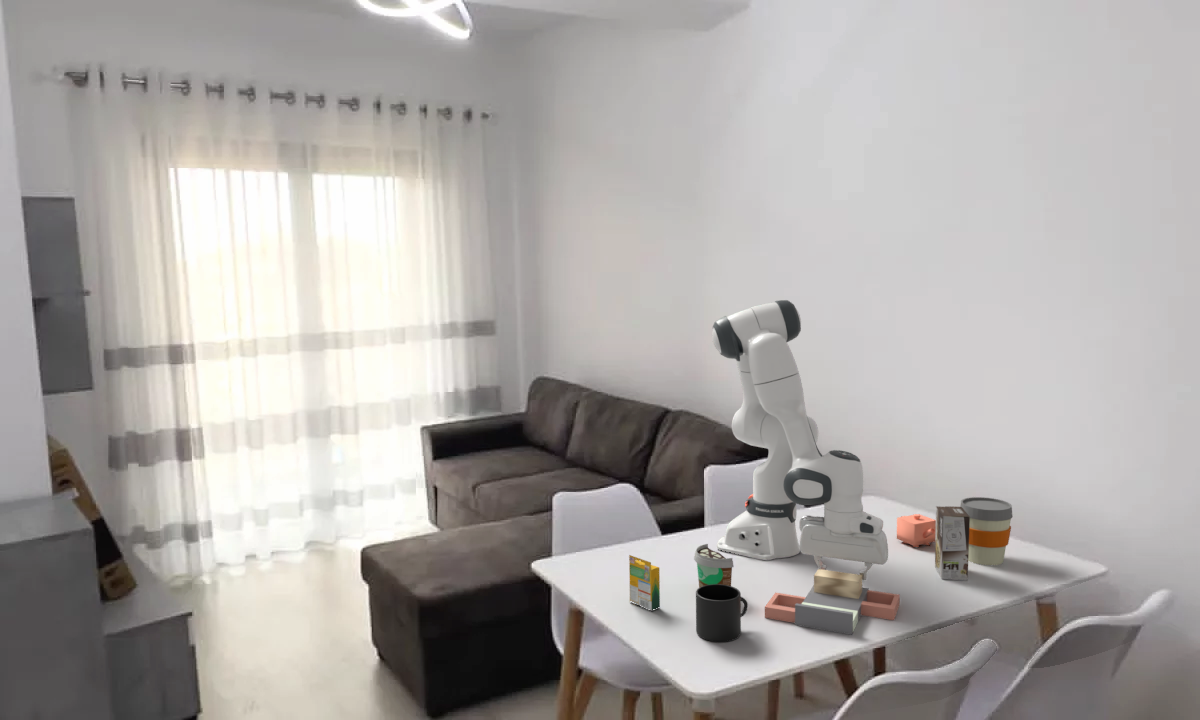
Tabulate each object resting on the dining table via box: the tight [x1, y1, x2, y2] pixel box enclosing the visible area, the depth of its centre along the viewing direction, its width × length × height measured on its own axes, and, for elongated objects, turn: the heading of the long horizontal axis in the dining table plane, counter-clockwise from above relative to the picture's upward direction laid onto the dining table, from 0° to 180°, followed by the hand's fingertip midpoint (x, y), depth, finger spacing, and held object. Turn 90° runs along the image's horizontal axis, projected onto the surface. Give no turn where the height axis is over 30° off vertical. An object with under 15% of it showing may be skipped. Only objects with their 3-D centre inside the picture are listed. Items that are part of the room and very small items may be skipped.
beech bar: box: [813, 568, 863, 599], centre depth 194 cm, size 10×4×4 cm, turn 63°
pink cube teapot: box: [896, 513, 936, 548], centre depth 232 cm, size 8×12×8 cm, turn 22°
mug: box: [695, 584, 749, 643], centre depth 180 cm, size 9×12×9 cm
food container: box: [693, 543, 734, 588], centre depth 201 cm, size 12×6×10 cm, turn 23°
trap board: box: [764, 584, 901, 636], centre depth 189 cm, size 26×21×4 cm
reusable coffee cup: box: [959, 496, 1013, 566], centre depth 219 cm, size 13×13×15 cm
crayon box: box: [628, 554, 661, 610], centre depth 194 cm, size 7×3×12 cm, turn 42°
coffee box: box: [934, 505, 970, 581], centre depth 210 cm, size 9×6×16 cm
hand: (842, 576), depth 200 cm, fingers open, 8 cm apart
